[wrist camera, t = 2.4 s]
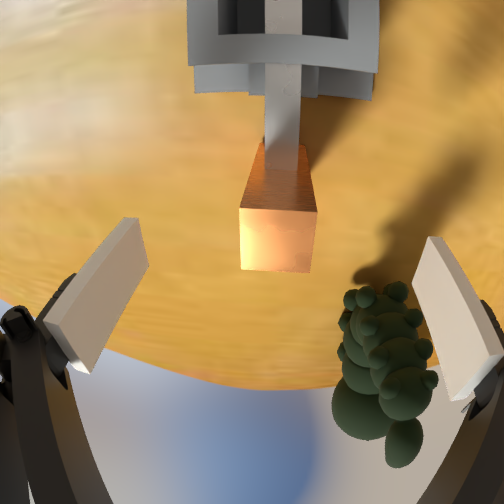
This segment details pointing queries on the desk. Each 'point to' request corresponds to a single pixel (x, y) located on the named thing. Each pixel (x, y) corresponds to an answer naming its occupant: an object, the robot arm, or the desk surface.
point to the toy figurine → (383, 372)
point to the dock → (284, 46)
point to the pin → (279, 167)
